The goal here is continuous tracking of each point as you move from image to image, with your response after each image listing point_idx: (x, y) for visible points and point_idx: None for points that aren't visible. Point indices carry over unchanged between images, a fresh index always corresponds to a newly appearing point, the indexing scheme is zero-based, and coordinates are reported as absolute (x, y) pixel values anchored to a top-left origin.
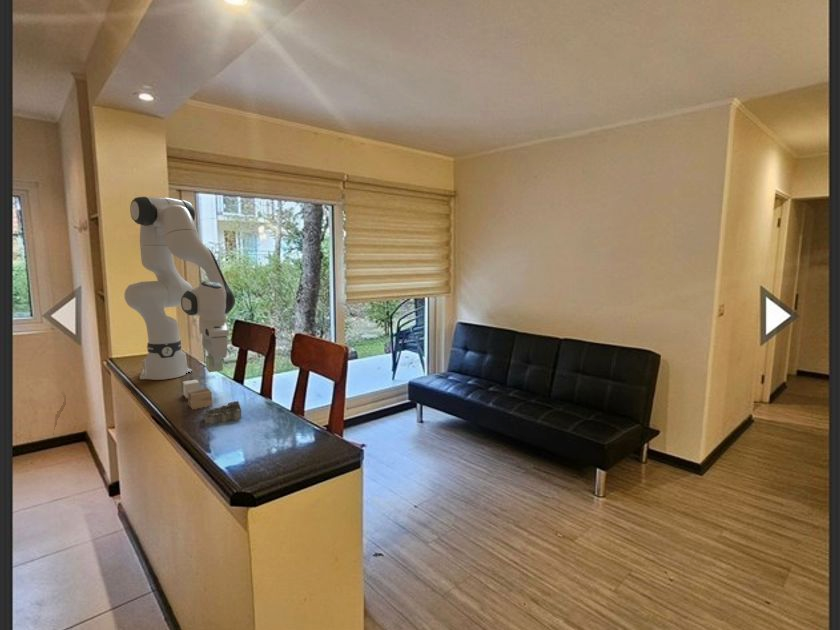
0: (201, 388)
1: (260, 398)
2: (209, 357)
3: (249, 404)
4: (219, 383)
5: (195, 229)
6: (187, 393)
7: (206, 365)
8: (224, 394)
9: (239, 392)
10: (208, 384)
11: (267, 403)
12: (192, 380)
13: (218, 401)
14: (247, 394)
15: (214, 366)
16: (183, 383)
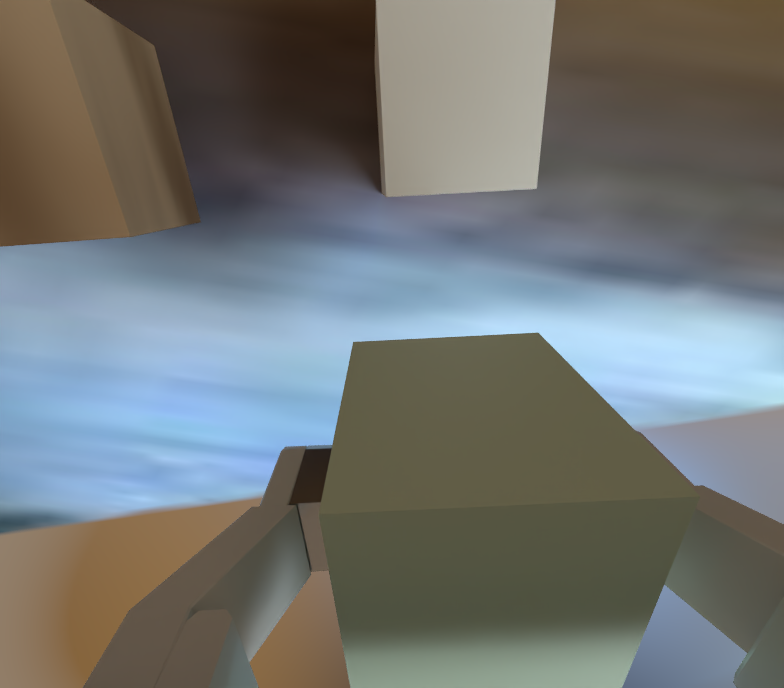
0: (106, 174)
1: (136, 505)
2: (455, 540)
3: (28, 442)
4: (616, 369)
5: None
6: (375, 63)
7: (545, 362)
8: (323, 354)
9: (320, 437)
10: (653, 300)
11: (23, 516)
12: (527, 132)
13: (163, 292)
14: (252, 465)
15: (281, 457)
16: (514, 2)
